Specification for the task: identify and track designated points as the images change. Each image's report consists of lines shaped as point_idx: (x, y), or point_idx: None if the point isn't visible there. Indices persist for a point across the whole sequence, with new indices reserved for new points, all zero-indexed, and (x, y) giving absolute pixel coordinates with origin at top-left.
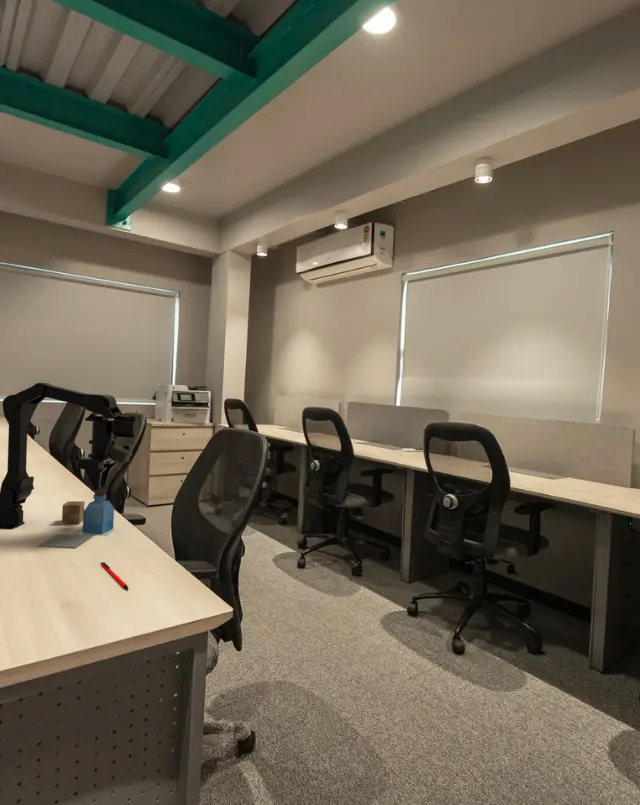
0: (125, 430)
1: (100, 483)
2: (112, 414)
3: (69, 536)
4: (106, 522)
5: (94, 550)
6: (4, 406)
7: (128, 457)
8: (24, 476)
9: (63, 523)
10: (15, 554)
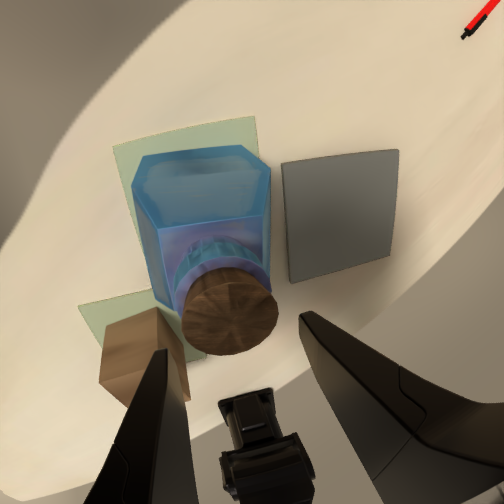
0: None
1: (182, 397)
2: None
3: (306, 236)
4: (217, 156)
5: (399, 85)
6: None
7: None
8: None
9: (180, 343)
10: (428, 256)
